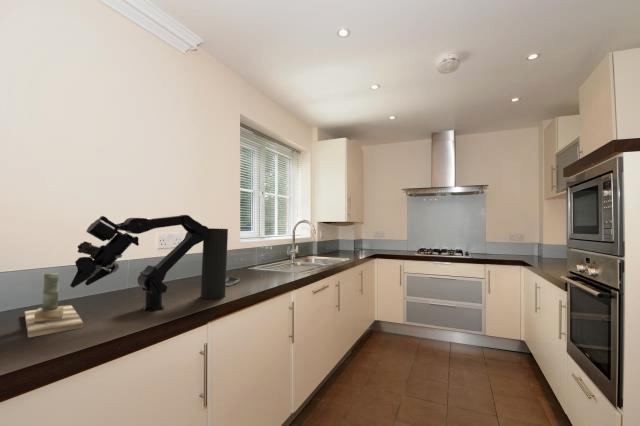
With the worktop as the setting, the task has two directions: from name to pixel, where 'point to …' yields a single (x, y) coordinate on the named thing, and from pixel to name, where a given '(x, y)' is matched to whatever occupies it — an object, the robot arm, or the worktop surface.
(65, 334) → the worktop surface
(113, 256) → the robot arm
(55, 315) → the column on wooden base
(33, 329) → the birch board
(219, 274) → the vase
